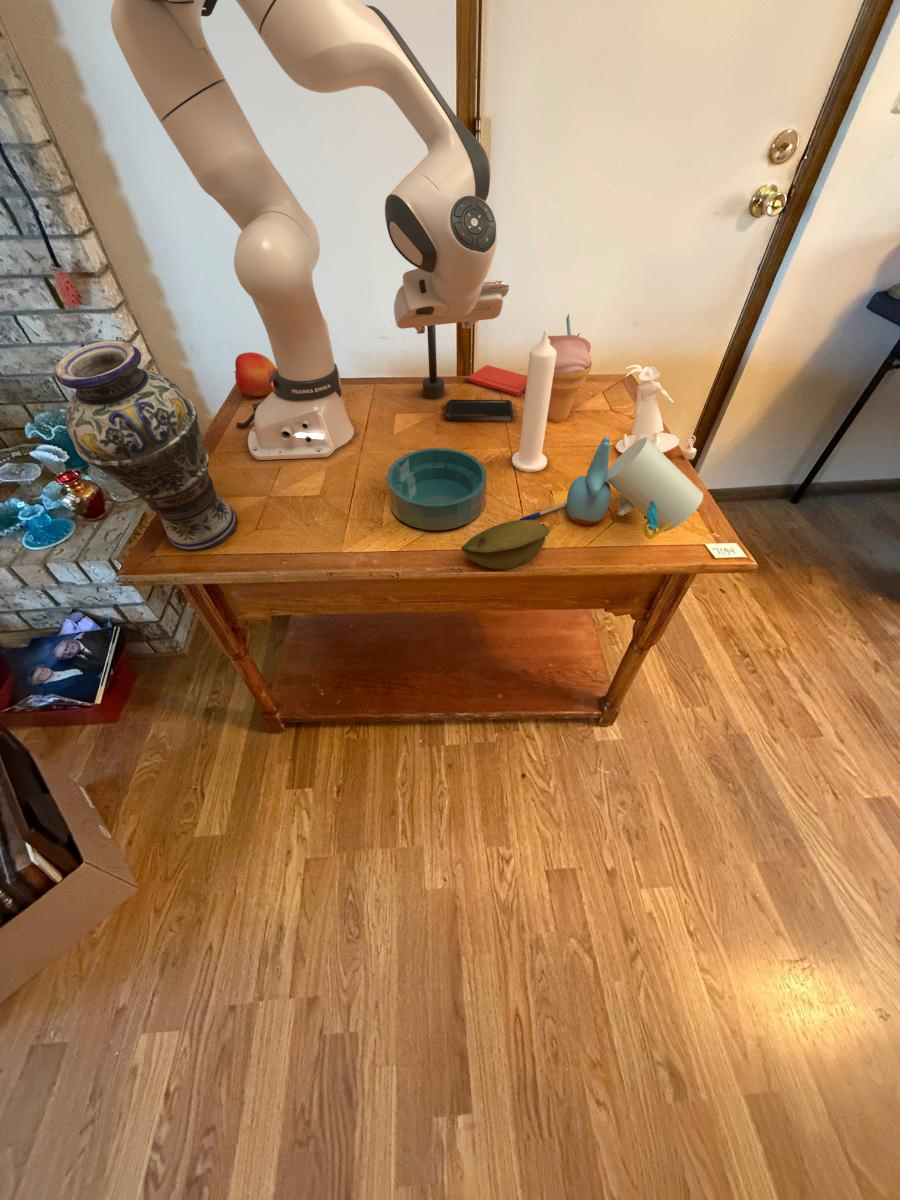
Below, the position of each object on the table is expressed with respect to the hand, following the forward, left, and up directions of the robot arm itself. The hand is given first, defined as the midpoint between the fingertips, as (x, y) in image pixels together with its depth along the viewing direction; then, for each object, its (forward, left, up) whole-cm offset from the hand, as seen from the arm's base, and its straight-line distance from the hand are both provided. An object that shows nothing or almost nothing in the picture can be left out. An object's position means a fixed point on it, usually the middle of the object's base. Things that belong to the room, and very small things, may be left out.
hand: (442, 327), depth 99 cm
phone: (+8, -1, -19) cm, 20 cm away
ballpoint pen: (+9, -39, -18) cm, 44 cm away
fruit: (-1, -48, -19) cm, 51 cm away
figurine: (+38, -28, -21) cm, 51 cm away
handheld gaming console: (+23, +6, -18) cm, 30 cm away
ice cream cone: (+24, -8, -19) cm, 32 cm away
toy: (+16, -42, -4) cm, 45 cm away
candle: (+12, -23, -19) cm, 32 cm away
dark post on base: (0, +11, -19) cm, 22 cm away
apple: (-36, +23, -16) cm, 45 cm away
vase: (-51, -28, -18) cm, 61 cm away
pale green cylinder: (+20, -41, -9) cm, 47 cm away
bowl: (-9, -31, -19) cm, 37 cm away
